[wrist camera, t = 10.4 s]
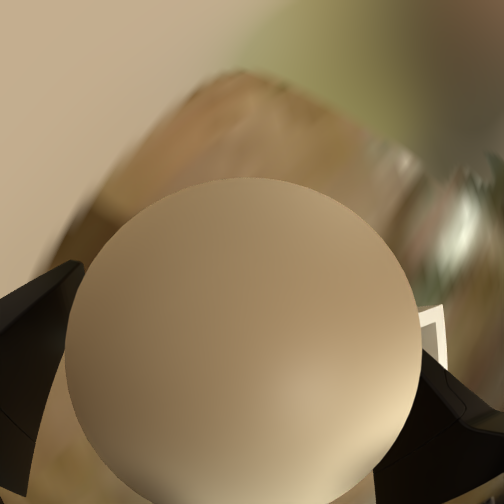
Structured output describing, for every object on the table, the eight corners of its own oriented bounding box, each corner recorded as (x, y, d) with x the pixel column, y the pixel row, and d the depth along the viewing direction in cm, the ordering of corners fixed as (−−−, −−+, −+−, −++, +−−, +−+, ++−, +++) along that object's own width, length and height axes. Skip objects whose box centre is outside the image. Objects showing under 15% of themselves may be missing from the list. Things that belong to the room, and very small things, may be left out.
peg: (268, 345, 16) (452, 389, 4) (194, 388, 15) (211, 560, 2) (224, 271, 16) (318, 134, 4) (148, 313, 15) (11, 287, 3)
